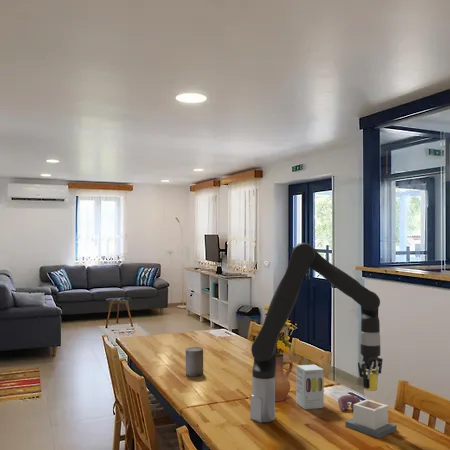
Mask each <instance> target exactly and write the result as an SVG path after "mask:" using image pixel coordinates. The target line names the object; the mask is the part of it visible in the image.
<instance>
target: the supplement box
mask: <svg viewBox="0 0 450 450" xmlns="http://www.w3.org/2000/svg"><path fill="white" fill-rule="evenodd" d="M324 371H325V369H324V368H322V367H321V366H318V365H316V364H301V365H299V364H297V365H296V385H295V386H296V388H295V389H296V390H295V391H296V393H295V395H296V396H295V402H296V404H297V405H298V406H300V407H301V408H303V410H311V409H313V410H314V409H324V404H325V403H324V399H325V397H324V393H325V392H324V388H325V387H324V385H325V381H324V380H325V372H324Z"/></svg>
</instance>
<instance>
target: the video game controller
mask: <svg viewBox="0 0 450 450" xmlns="http://www.w3.org/2000/svg"><path fill="white" fill-rule="evenodd" d="M337 402H338V407H339V410H340V411H341V412H344V410H348V409H349V407H350V409H352V410H353V404H356V403H358V402H361V399H360V398H359V397H358V395H357V396H356V395H352V394H351V395H350V394H345V395H342V396H340V397H339V398H338V399H337ZM349 403H350V405H349Z"/></svg>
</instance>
